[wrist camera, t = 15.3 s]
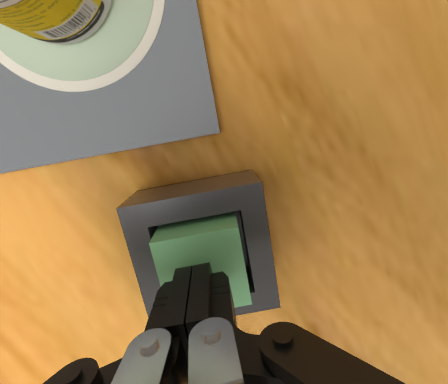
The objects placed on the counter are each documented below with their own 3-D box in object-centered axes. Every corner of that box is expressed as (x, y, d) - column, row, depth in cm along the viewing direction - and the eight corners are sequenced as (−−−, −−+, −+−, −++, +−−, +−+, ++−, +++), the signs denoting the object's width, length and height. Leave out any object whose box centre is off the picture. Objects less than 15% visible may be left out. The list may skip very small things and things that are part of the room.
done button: (234, 210, 14) (238, 227, 12) (246, 276, 15) (252, 304, 13) (159, 223, 14) (148, 243, 12) (176, 289, 15) (169, 319, 13)
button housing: (251, 169, 16) (261, 181, 13) (267, 272, 18) (280, 307, 14) (137, 190, 16) (116, 208, 13) (164, 291, 18) (152, 330, 14)
